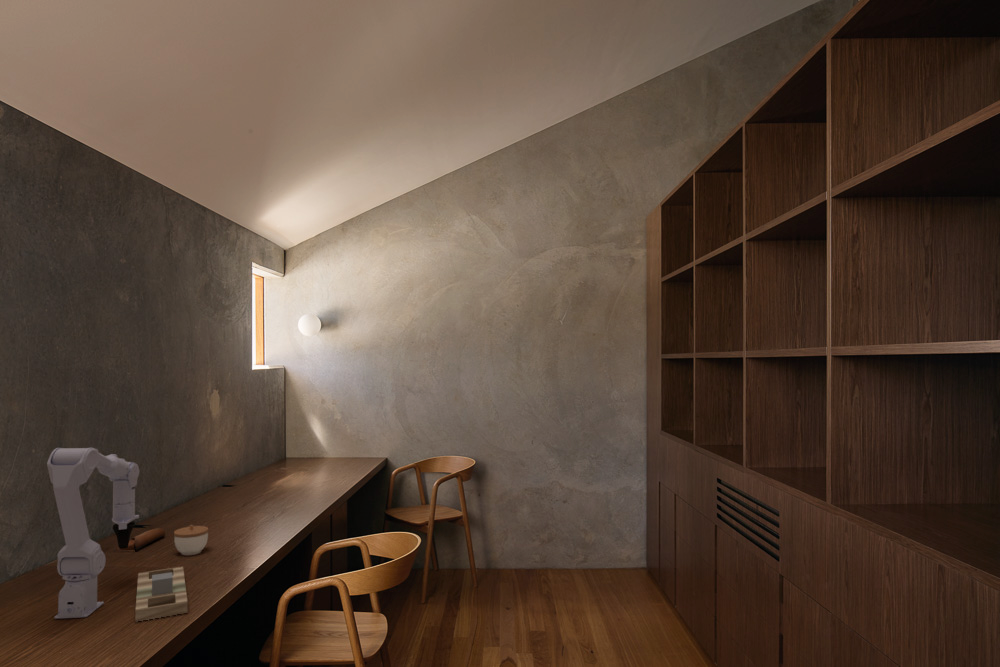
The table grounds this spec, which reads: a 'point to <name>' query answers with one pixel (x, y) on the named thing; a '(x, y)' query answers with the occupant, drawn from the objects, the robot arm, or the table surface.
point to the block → (162, 583)
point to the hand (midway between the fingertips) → (123, 548)
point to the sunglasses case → (144, 539)
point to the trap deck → (160, 596)
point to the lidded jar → (191, 539)
